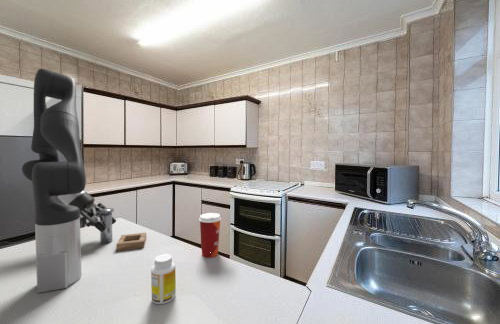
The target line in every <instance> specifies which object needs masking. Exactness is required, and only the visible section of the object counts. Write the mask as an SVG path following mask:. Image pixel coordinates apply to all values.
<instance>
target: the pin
mask: <svg viewBox="0 0 500 324" xmlns="http://www.w3.org/2000/svg"><path fill="white" fill-rule="evenodd" d="M114 212H115V210H114V208H113V207H106V208H104V209H100V210H98V214H100V217H99V221H100V222H101V223H102V224H103V225H104V226H106V229H105V230H104V231H103V232H100V231H99V233H100V234H99V236H100V237H99V239H100V240H99V242H100V244H101V245H106V244H110V243H112V242H113V224H112V217H113V213H114Z"/></svg>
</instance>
